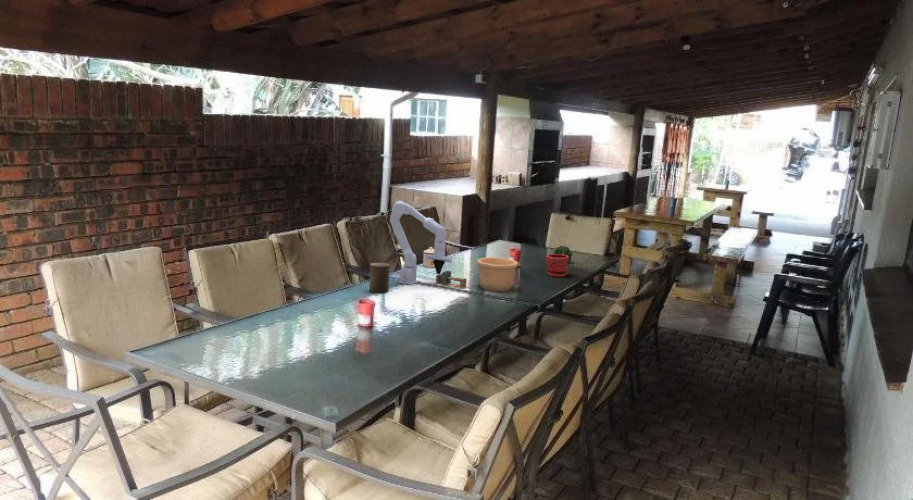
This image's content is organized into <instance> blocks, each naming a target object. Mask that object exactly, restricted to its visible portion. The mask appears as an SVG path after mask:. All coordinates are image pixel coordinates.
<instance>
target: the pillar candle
mask: <svg viewBox="0 0 913 500" xmlns="http://www.w3.org/2000/svg"><path fill="white" fill-rule="evenodd" d="M369 271H370V272H369V292H371V293H375V294H385V293H388V292H389V290H390V289H389V288H390V264H389V263H385V262H374V263H373V262H372V263H370V267H369Z"/></svg>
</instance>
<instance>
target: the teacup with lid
mask: <svg viewBox="0 0 913 500" xmlns="http://www.w3.org/2000/svg"><path fill="white" fill-rule="evenodd" d="M433 247H434V246H433ZM433 247H432V246H429V247H428V248H427V249H425V250H423V259H422V260H423V261H422V265H423V267H424V268H431V269H432V268H435V266H434V264H433V261H434V260H432V259H427V255H433V256H434V248H433Z"/></svg>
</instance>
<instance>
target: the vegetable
mask: <svg viewBox="0 0 913 500" xmlns="http://www.w3.org/2000/svg"><path fill="white" fill-rule="evenodd" d="M552 254H559V255H566V256H568V257H569V260H568V263H569V262H570V261H571V260H572V256H573V250H571V249H570V248H569V246H564V245H559V246H558V247H555V248H554V250H553V252H552ZM564 265H565V264H564Z"/></svg>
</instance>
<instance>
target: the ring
mask: <svg viewBox="0 0 913 500" xmlns="http://www.w3.org/2000/svg"><path fill="white" fill-rule="evenodd" d="M441 274H442V279H441V284H444V285H446V284H448V283H452V282H451V281H452V280H448V279H447V276H448V277H452V271H451V270H445V271H443V272H442V271H441Z"/></svg>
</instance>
